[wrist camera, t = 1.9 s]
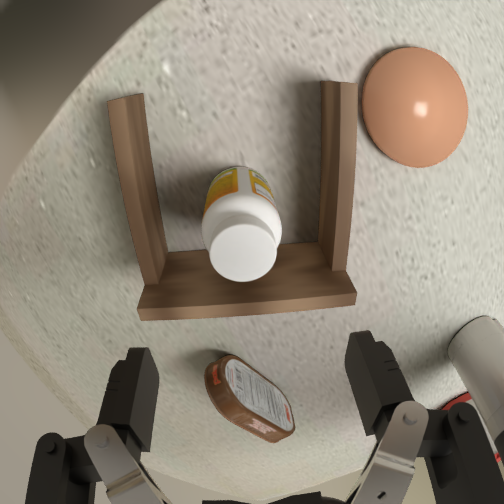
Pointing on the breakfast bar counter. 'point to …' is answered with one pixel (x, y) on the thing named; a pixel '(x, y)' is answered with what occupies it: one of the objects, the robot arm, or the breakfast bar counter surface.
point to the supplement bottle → (241, 224)
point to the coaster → (414, 106)
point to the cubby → (288, 255)
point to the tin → (249, 399)
